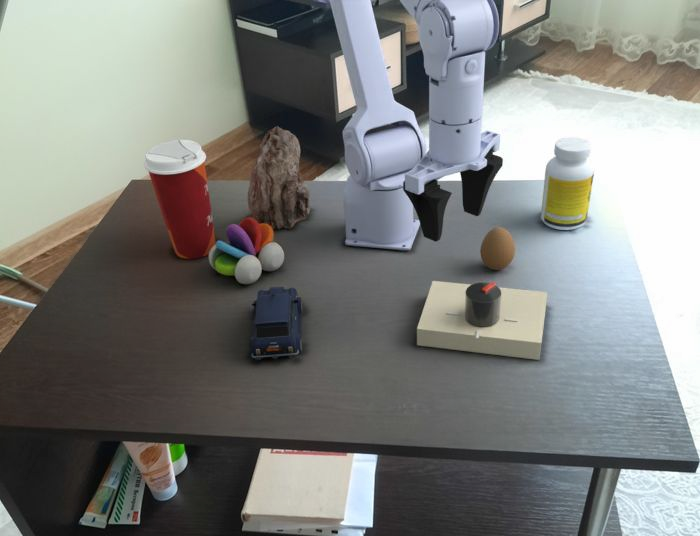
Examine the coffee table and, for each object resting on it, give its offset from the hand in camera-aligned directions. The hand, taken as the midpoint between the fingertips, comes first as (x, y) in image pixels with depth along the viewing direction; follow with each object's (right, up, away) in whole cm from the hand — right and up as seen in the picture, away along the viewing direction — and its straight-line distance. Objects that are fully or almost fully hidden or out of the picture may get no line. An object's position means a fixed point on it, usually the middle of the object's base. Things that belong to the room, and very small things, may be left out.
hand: (452, 225), depth 88 cm
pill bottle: (+18, +4, +18) cm, 26 cm away
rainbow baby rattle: (-26, -4, +13) cm, 30 cm away
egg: (+7, -4, +9) cm, 12 cm away
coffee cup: (-35, 0, +18) cm, 39 cm away
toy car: (-21, -13, +1) cm, 25 cm away
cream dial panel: (+4, -12, 0) cm, 13 cm away
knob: (+3, -11, -3) cm, 12 cm away
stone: (-23, +4, +22) cm, 32 cm away
